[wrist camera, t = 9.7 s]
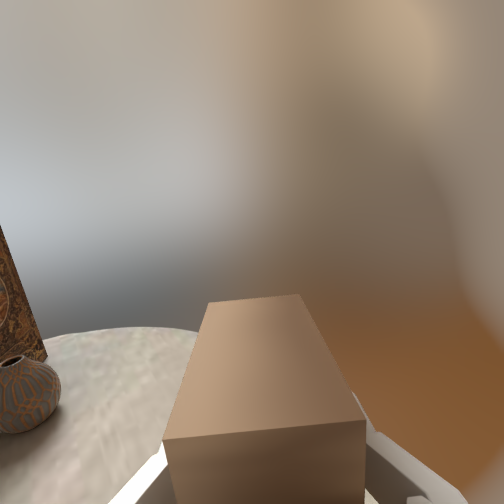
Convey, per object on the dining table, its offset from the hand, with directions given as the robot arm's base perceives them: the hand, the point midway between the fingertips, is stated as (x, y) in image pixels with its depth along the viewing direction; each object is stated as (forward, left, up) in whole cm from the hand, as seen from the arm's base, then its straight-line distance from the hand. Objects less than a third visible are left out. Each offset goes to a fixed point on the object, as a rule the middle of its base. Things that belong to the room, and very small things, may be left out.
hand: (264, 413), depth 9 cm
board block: (0, -1, -6) cm, 6 cm away
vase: (-30, +18, -18) cm, 39 cm away
